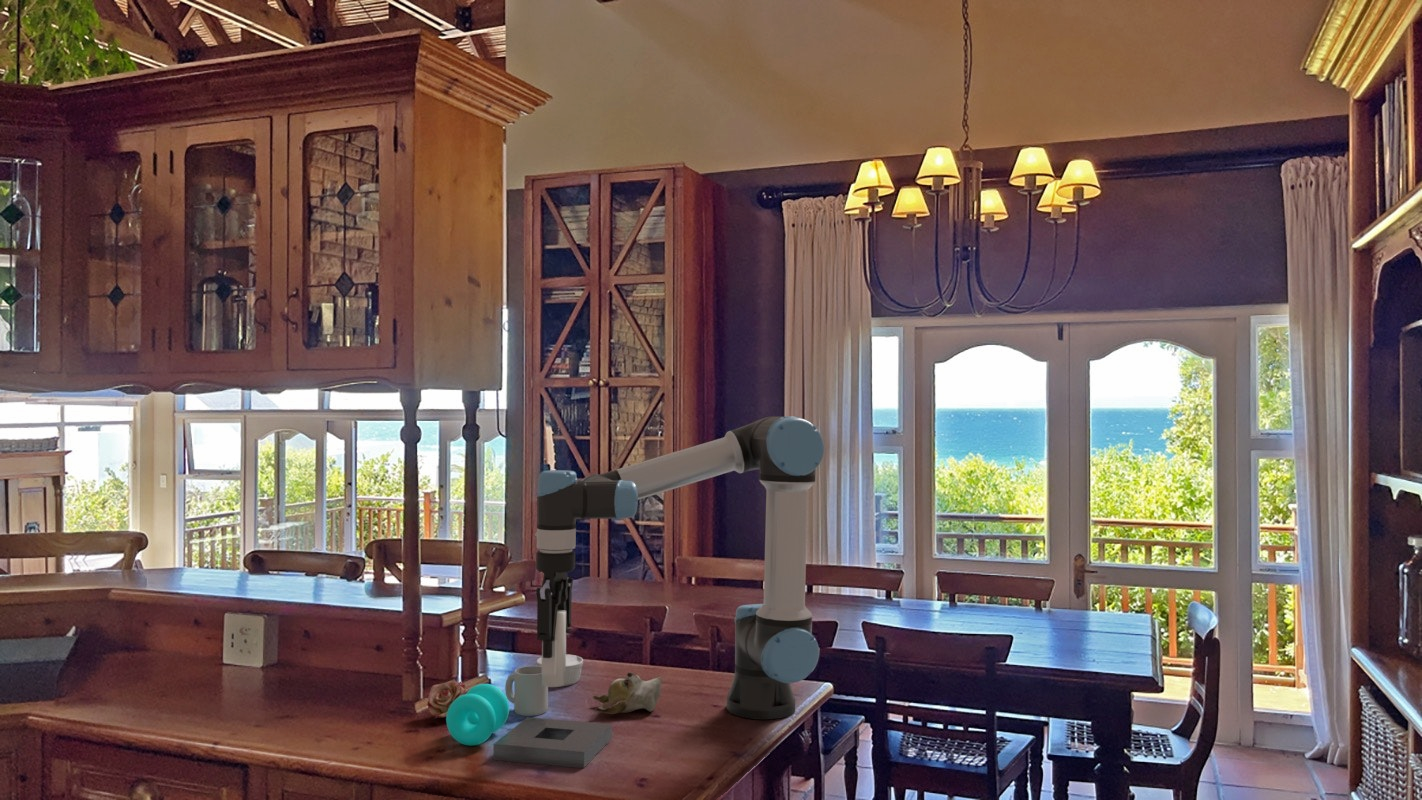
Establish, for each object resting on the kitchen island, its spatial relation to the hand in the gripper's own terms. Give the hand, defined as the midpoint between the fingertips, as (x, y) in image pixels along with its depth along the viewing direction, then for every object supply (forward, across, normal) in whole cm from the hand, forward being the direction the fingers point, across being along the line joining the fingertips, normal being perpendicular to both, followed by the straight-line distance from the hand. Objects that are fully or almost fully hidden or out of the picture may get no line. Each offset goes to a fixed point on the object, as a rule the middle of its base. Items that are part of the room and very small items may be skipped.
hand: (553, 670), depth 188 cm
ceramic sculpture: (+16, -26, +7) cm, 31 cm away
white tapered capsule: (+3, 0, 0) cm, 3 cm away
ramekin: (+16, -44, -16) cm, 49 cm away
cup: (+16, -21, -15) cm, 30 cm away
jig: (+15, 0, 0) cm, 15 cm away
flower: (+16, -12, -29) cm, 35 cm away
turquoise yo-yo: (+16, -2, -17) cm, 23 cm away
